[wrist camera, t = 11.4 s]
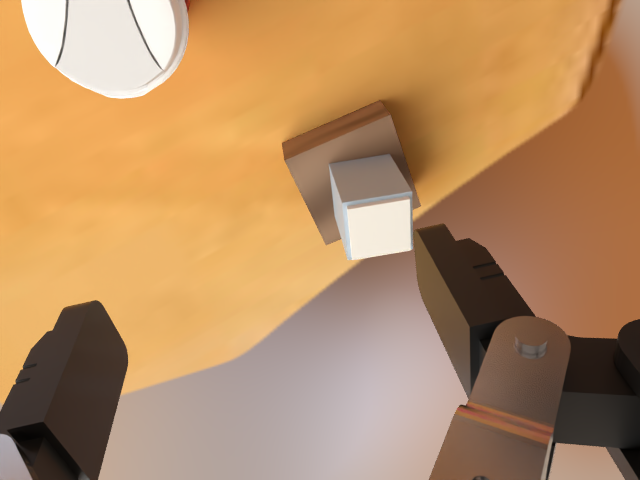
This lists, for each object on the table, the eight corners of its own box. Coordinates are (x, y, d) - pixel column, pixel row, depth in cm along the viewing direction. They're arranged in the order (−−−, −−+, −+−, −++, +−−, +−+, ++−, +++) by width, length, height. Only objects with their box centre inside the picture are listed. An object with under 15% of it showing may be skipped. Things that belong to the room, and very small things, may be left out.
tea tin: (328, 163, 40) (343, 206, 34) (389, 153, 40) (414, 194, 34) (334, 216, 43) (349, 264, 37) (391, 206, 43) (414, 252, 37)
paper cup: (81, -82, 32) (-13, -82, 21) (201, -74, 33) (178, -70, 22) (102, 45, 36) (35, 104, 25) (209, 48, 37) (192, 107, 26)
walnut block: (281, 141, 43) (284, 160, 39) (379, 98, 42) (390, 114, 38) (320, 222, 47) (326, 245, 44) (408, 185, 47) (421, 206, 43)
